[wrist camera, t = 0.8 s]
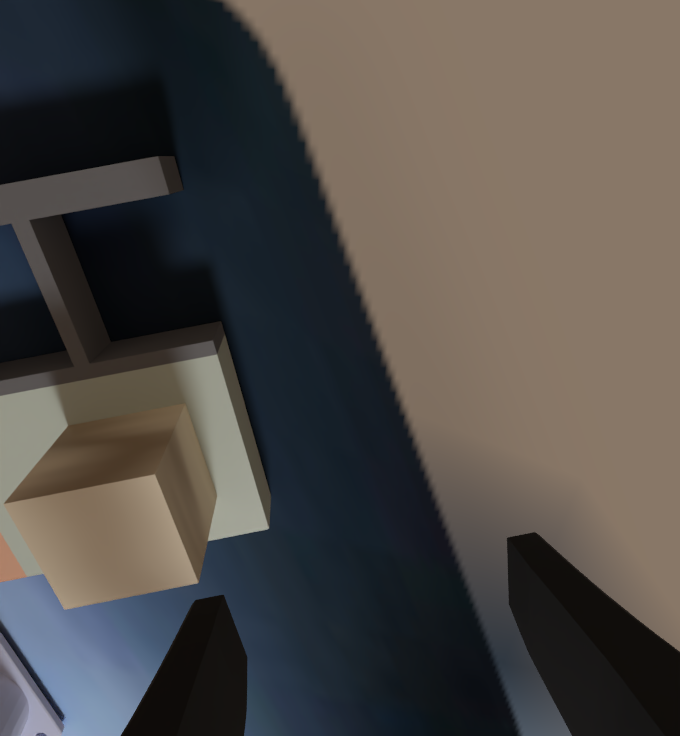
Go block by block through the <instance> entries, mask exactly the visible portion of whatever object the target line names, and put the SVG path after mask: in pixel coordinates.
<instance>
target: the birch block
mask: <svg viewBox="0 0 680 736" xmlns="http://www.w3.org/2000/svg"><path fill="white" fill-rule="evenodd" d="M216 500H217V494H216V491H215V488H214V485H213V482H212V479H211V476H210V473H209V471H208V468H207V465H206V462H205V459H204V456H203V453H202V450H201V447H200V444H199V441H198V438H197V436H196V433H195V430H194V427H193V424H192V421H191V418H190V415H189V412H188V409H187V406H186V404H185V403H183V404H178V405H173V406H168V407H163V408H158V409H152V410H147V411H142V412H137V413H132V414H126V415H121V416H116V417H111V418H106V419H100V420H95V421H90V422H85V423H80V424H75V425H69V426H67V428H66V429H65V430H64V431H63V432H62V434H61V435H60V436H59V437H58V439H57V440H56V441H55V442H54V443H53V445H52V446H51V447H50V448H49V449H48V451H47V452H46V453H45V454H44V455H43V457H42V458H41V459H40V460H39V461H38V463H37V464H36V465H35V466H34V468H33V469H32V470H31V471H30V472H29V474H28V475H27V476H26V477H25V478H24V480H23V481H22V482H21V483H20V484H19V486H18V487H17V488H16V489H15V490H14V492H13V493H12V494H11V495H10V497H9V498H8V499H7V500H6V501H5V503H4V506H5V508H6V510H7V511H8V513H9V515H10V516H11V518H12V520H13V522H14V523H15V525H16V527H17V529H18V530H19V532H20V534H21V535H22V537H23V539H24V541H25V542H26V544H27V546H28V547H29V549H30V551H31V553H32V554H33V556H34V558H35V559H36V561H37V563H38V565H39V566H40V568H41V570H42V571H43V573H44V575H45V577H46V578H47V580H48V582H49V583H50V585H51V587H52V589H53V590H54V592H55V594H56V596H57V597H58V599H59V601H60V602H61V604H62V606H63V608H64V609H65V610H66V609H71V608H76V607H81V606H86V605H91V604H96V603H101V602H106V601H111V600H116V599H121V598H126V597H131V596H136V595H141V594H146V593H151V592H156V591H161V590H166V589H171V588H176V587H181V586H186V585H191V584H196V583H199V579H200V574H201V569H202V565H203V560H204V555H205V551H206V546H207V542H208V537H209V532H210V528H211V523H212V518H213V514H214V509H215V504H216Z"/></svg>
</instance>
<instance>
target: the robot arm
mask: <svg viewBox="0 0 680 736" xmlns="http://www.w3.org/2000/svg"><path fill="white" fill-rule="evenodd" d="M507 550H508V551H507V552H508V585H509V605H510V608H511V610H512V613H513V616H514V618H515V620H516V623H517V626H518V628H519V631H520V633H521V635H522V638H523V640H524V643H525V645H526V647H527V650H528V652H529V655H530V656H531V658H532V660H533V662H534V664H535V666H536V668H537V670H538V672H539V674H540V676H541V677H542V680H543V681H544V683H545V685H546V687H547V689H548V691H549V693H550V695H551V696H552V698H553V700H554V702H555V704H556V706H557V708H558V710H559V712H560V714H561V716H562V717H563V719H564V721H565V723H566V725H567V727H568V729H569V731H570V733H571V734H572V736H680V652H679V651H678V650H677V649H675V648H674V647H672V646H671V645H670V644H669V643H667V642H666V641H665V640H663V639H662V638H660V637H659V636H658V635H657V634H655V633H654V632H653V631H652V630H650V629H649V628H648V627H646V626H645V625H644V624H643V623H641V622H640V621H639V620H637V619H636V618H635V617H634V616H632V615H631V614H630V613H629V612H628V611H626V610H625V609H624V608H623V607H621V606H620V605H619V604H618V603H616V602H615V601H614V600H613V599H612V598H610V597H609V596H608V595H607V594H605V593H604V592H603V591H602V590H601V589H599V588H598V587H597V586H596V585H595V584H594V583H592V582H591V581H590V580H589V579H588V578H587V577H586V576H584V575H583V574H582V573H581V572H580V571H579V570H577V569H576V568H575V567H574V566H573V565H572V564H571V563H570V562H568V561H567V560H566V559H565V558H564V557H563V556H562V555H560V554H559V553H558V552H557V551H556V550H555V549H554V548H553V547H552V546H551V545H550V544H548V543H547V542H546V541H545V540H544V539H543V538H542V537H541V536H540V535H538V534H537V533H529V534H524V535H519V536H514V537H509V538H507ZM246 710H247V655H246V653H245V650H244V647H243V645H242V642H241V640H240V637H239V634H238V632H237V629H236V626H235V624H234V621H233V618H232V616H231V613H230V610H229V608H228V605H227V602H226V600H225V597H224V595H219V596H214V597H209V598H204V599H199V600H195V602H194V603H193V604H192V606H191V608H190V610H189V612H188V613H187V615H186V617H185V619H184V621H183V623H182V625H181V627H180V629H179V631H178V633H177V635H176V637H175V639H174V641H173V643H172V645H171V647H170V649H169V651H168V653H167V654H166V656H165V658H164V660H163V662H162V664H161V666H160V668H159V669H158V671H157V673H156V675H155V677H154V679H153V680H152V682H151V684H150V686H149V688H148V689H147V691H146V693H145V695H144V696H143V698H142V700H141V702H140V704H139V705H138V707H137V709H136V711H135V713H134V714H133V716H132V718H131V719H130V721H129V723H128V725H127V726H126V728H125V729H124V731H123V733H122V734H121V736H244V730H245V721H246ZM63 729H64V724H63V723H62V721H61V720H60V719H59V717H58V716H57V714H56V713H55V711H54V710H53V708H52V707H51V705H50V704H49V702H48V701H47V699H46V698H45V696H44V695H43V694H42V692H41V691H40V689H39V688H38V686H37V685H36V683H35V682H34V680H33V679H32V677H31V676H30V674H29V673H28V672H27V670H26V669H25V667H24V666H23V664H22V663H21V661H20V660H19V658H18V657H17V655H16V654H15V652H14V651H13V649H12V648H11V647H10V645H9V644H8V642H7V641H6V639H5V638H4V636H3V635H2V633H1V632H0V736H61V734H62V732H63Z"/></svg>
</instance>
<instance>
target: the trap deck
mask: <svg viewBox="0 0 680 736" xmlns="http://www.w3.org/2000/svg"><path fill="white" fill-rule="evenodd" d="M182 190H184V189H183V186H182V182H181V179H180V175H179V172H178V168H177V165H176V161H175V157H174V156H156V157H151V158H145V159H140V160H134V161H129V162H123V163H118V164H112V165H107V166H101V167H96V168H91V169H85V170H80V171H74V172H69V173H63V174H58V175H52V176H47V177H41V178H36V179H30V180H25V181H19V182H14V183H8V184H3V185H0V225H5V224H12V226H13V228H14V231H15V233H16V235H17V237H18V240H19V242H20V244H21V247H22V249H23V251H24V253H25V256H26V258H27V260H28V262H29V265H30V267H31V269H32V272H33V274H34V276H35V278H36V281H37V283H38V285H39V288H40V290H41V292H42V294H43V297H44V299H45V301H46V304H47V306H48V308H49V310H50V313H51V315H52V317H53V320H54V322H55V324H56V326H57V329H58V331H59V333H60V336H61V338H62V340H63V342H64V345H65V347H66V349H67V350H66V351H61V352H55V353H50V354H45V355H40V356H34V357H29V358H24V359H19V360H13V361H8V362H3V363H0V582H4V581H9V580H14V579H19V578H24V577H29V576H34V575H39V574H44V573H43V571H42V570H41V568H40V566H39V565H38V563H37V561H36V559H35V558H34V556H33V554H32V553H31V551H30V549H29V547H28V546H27V544H26V542H25V541H24V539H23V537H22V535H21V534H20V532H19V530H18V529H17V527H16V525H15V523H14V522H13V520H12V518H11V516H10V515H9V513H8V511H7V510H6V508H5V506H4V503H5V501H6V500H7V499H8V498H9V497H10V495H11V494H12V493H13V492H14V490H15V489H16V488H17V487H18V486H19V484H20V483H21V482H22V481H23V480H24V478H25V477H26V476H27V475H28V474H29V472H30V471H31V470H32V469H33V468H34V466H35V465H36V464H37V463H38V461H39V460H40V459H41V458H42V457H43V455H44V454H45V453H46V452H47V451H48V449H49V448H50V447H51V446H52V445H53V443H54V442H55V441H56V440H57V439H58V437H59V436H60V435H61V434H62V432H63V431H64V430H65V429H66V428H67V426H69V425H75V424H80V423H85V422H90V421H95V420H100V419H106V418H111V417H116V416H121V415H126V414H132V413H137V412H142V411H147V410H152V409H158V408H163V407H168V406H173V405H178V404H183V403H185V404H186V406H187V409H188V412H189V415H190V418H191V421H192V424H193V427H194V430H195V433H196V436H197V438H198V441H199V444H200V447H201V450H202V453H203V456H204V459H205V462H206V465H207V468H208V471H209V473H210V476H211V479H212V482H213V485H214V488H215V491H216V494H217V500H216V504H215V509H214V514H213V518H212V523H211V528H210V532H209V537H208V541H211V540H216V539H221V538H226V537H231V536H236V535H241V534H246V533H251V532H256V531H261V530H266V529H269V521H270V503H271V494H270V491H269V487H268V484H267V480H266V477H265V473H264V470H263V466H262V463H261V459H260V456H259V452H258V449H257V445H256V442H255V438H254V435H253V431H252V428H251V424H250V421H249V417H248V414H247V410H246V407H245V403H244V400H243V396H242V393H241V389H240V386H239V382H238V379H237V375H236V372H235V368H234V365H233V361H232V358H231V354H230V351H229V347H228V344H227V340H226V337H225V333H224V329H223V326H222V322H221V321H219V322H214V323H208V324H203V325H198V326H192V327H187V328H182V329H177V330H171V331H166V332H161V333H156V334H150V335H145V336H140V337H134V338H129V339H124V340H119V341H113V342H111V341H110V338H109V336H108V333H107V331H106V328H105V325H104V323H103V320H102V318H101V315H100V313H99V310H98V308H97V305H96V303H95V300H94V298H93V295H92V292H91V290H90V287H89V285H88V282H87V280H86V277H85V275H84V272H83V270H82V267H81V264H80V262H79V259H78V257H77V254H76V252H75V249H74V247H73V244H72V242H71V239H70V237H69V234H68V231H67V229H66V226H65V224H64V221H63V219H62V216H61V214H65V213H70V212H76V211H81V210H87V209H92V208H97V207H103V206H108V205H114V204H119V203H125V202H130V201H135V200H141V199H146V198H152V197H157V196H162V195H168V194H172V193H175V192H178V191H182Z"/></svg>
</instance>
